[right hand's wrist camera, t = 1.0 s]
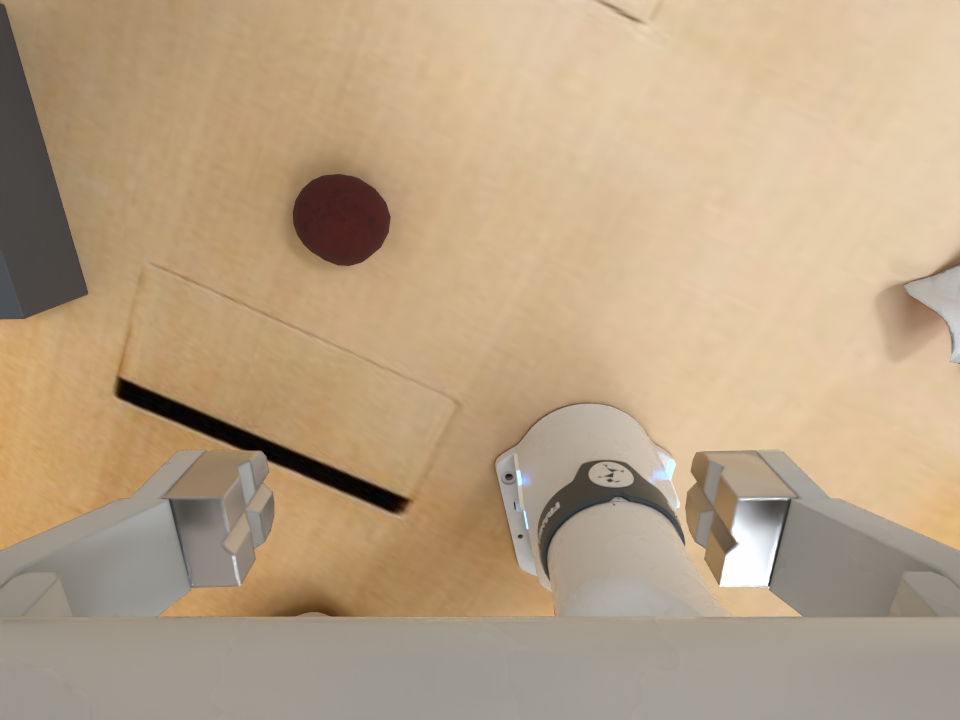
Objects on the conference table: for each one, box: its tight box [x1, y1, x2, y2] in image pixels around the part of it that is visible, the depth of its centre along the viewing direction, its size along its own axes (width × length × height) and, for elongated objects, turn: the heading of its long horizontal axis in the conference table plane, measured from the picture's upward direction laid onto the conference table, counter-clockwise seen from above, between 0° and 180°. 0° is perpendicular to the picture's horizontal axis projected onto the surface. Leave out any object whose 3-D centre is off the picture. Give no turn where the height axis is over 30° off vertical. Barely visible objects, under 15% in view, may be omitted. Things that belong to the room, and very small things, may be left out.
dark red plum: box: [293, 174, 390, 266], centre depth 45 cm, size 7×8×7 cm
